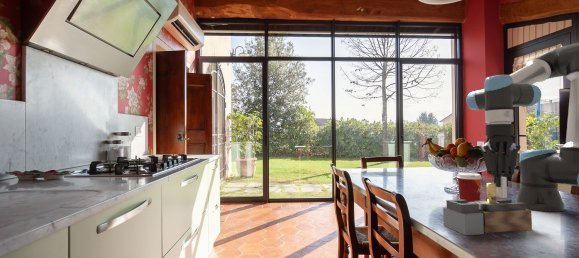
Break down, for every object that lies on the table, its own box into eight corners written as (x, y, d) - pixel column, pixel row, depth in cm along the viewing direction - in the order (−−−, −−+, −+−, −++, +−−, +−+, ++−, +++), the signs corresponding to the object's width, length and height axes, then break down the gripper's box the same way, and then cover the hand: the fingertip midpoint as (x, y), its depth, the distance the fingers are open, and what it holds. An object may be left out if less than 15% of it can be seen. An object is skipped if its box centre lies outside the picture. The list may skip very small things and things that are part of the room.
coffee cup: (487, 217, 107) (486, 175, 108) (462, 216, 109) (460, 175, 109) (477, 211, 116) (476, 172, 116) (454, 211, 117) (453, 172, 118)
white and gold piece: (492, 206, 98) (491, 182, 98) (499, 208, 95) (499, 183, 95) (467, 207, 96) (466, 183, 97) (474, 210, 93) (473, 184, 94)
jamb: (460, 224, 100) (459, 198, 100) (483, 234, 90) (482, 205, 90) (443, 225, 99) (442, 199, 99) (465, 235, 89) (464, 206, 89)
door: (509, 222, 101) (508, 198, 101) (532, 229, 93) (531, 203, 93) (466, 225, 99) (465, 200, 99) (485, 232, 91) (484, 206, 91)
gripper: (490, 123, 92) (492, 200, 92) (527, 123, 94) (530, 198, 94) (472, 124, 100) (474, 195, 99) (507, 124, 102) (509, 194, 101)
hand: (501, 197), depth 96 cm, fingers closed
